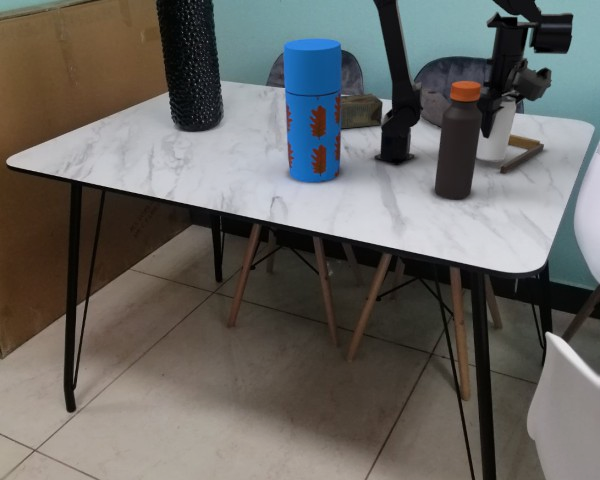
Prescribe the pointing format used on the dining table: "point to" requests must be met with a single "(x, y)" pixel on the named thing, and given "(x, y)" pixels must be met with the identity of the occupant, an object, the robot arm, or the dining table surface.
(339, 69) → the thermos
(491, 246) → the dining table surface
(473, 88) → the bottle
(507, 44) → the robot arm
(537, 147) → the brown wooden bent bar
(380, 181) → the dining table surface
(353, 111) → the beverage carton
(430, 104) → the perforated stone tool
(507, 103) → the can
